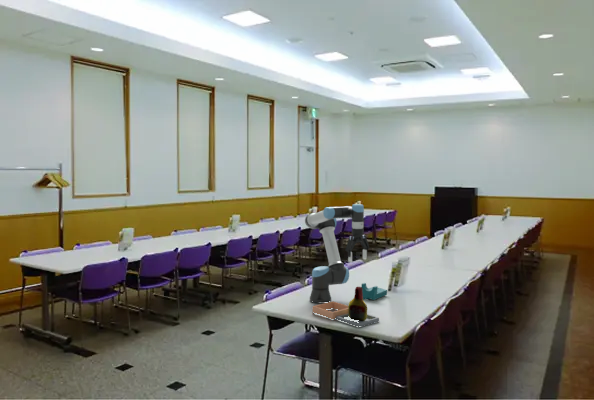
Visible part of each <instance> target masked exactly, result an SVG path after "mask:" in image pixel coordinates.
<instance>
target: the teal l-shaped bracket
mask: <svg viewBox="0 0 594 400" xmlns="http://www.w3.org/2000/svg"><path fill="white" fill-rule="evenodd" d="M360 287H362V294H363V300H366V299H368V300H372V301H376V300H377V299H379V298H383V297H385V296H387V295H388V289H385V288H380V287H378V286H377V285H374V286H372V287H369V288H368V286H367V282H362V283H361V286H360Z"/></svg>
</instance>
